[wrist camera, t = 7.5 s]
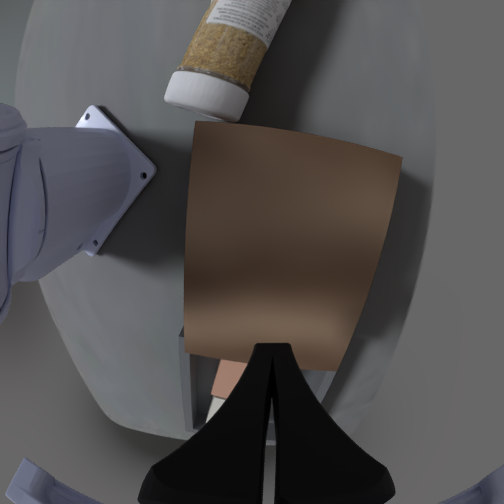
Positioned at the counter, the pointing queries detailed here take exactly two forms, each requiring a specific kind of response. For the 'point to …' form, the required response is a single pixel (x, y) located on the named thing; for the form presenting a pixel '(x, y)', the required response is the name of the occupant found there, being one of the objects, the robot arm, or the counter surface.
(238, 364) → the terracotta tile
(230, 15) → the sprinkles bottle
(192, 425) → the box
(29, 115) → the counter surface
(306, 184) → the walnut board
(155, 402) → the counter surface
